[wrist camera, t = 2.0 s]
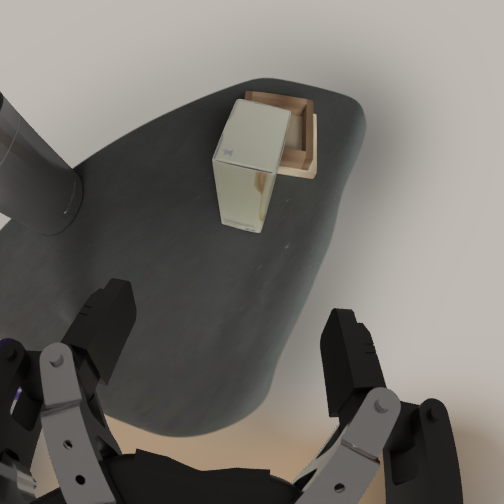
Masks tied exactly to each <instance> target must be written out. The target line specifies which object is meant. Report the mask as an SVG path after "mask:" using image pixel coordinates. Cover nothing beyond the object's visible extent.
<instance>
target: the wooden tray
mask: <svg viewBox="0 0 504 504" xmlns="http://www.w3.org/2000/svg"><path fill="white" fill-rule="evenodd" d="M244 100H248V101H253V102H257V103H262V104H266V105H270V106H274V107H278V108H282V109H286V110H289V111H291V116H290V121H289V127H288V132H287V136H286V141H285V145H284V149H283V153H282V157H281V160H280V164H279V168H278V171H277V174H284V175H291V176H297V177H303V178H309V179H314V177H315V175H316V172H317V122H316V114H313V101H312V100H307V99H302V98H296V97H291V96H284V95H278V94H270V93H263V92H254V91H246V94H245V98H244Z"/></svg>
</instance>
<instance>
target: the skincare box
mask: <svg viewBox="0 0 504 504" xmlns="http://www.w3.org/2000/svg"><path fill="white" fill-rule="evenodd" d="M290 116H291V111H289V110H286V109H282V108H278V107H274V106H270V105H266V104H262V103H257V102H253V101H248V100H243V99H238V100H236V102H235V105H234V107H233V109H232V111H231V114H230V116H229V118H228V120H227V123H226V125H225V128H224V130H223V133H222V135H221V138H220V140H219V143H218V145H217V148H216V151H215V153H214V156H213V158H212V162H213V170H214V177H215V183H216V190H217V196H218V203H219V209H220V216H221V222H222V224H224V225H228V226H231V227H235V228H239V229H242V230H246V231H251V232H255V233H260V232H261V230H262V227H263V223H264V220H265V216H266V213H267V209H268V205H269V201H270V197H271V194H272V190H273V186H274V182H275V179H276V175H277V171H278V168H279V164H280V160H281V157H282V153H283V149H284V145H285V141H286V136H287V132H288V127H289V121H290Z"/></svg>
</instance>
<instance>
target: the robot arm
mask: <svg viewBox="0 0 504 504" xmlns="http://www.w3.org/2000/svg"><path fill="white" fill-rule="evenodd" d="M82 196H83V186H82V181H81V179H80V177H79V176H78V174H77V173H76V172H75V171H74V170H73V169H72V168H71V167H70V166H69V165H68V164H66V162H65V161H64V160H63V159H62V158H61V157H60V156H58V154H57V153H56V152H55V151H54V150H53V149H52V148H51V147H50V146H49V145H48V144H47V143H46V142H45V141H44V140H43V139H42V138H41V137H40V136H39V135H38V134H37V133H36V132H35V131H34V129H33V128H32V127H31V126H30V125H29V124H28V123H27V122H26V121H25V120H24V118H23V117H22V116H21V115H20V114H19V113H18V112H17V111H16V110H15V109H14V107H13V106H12V105H11V104H10V103H9V102H8V100H7V99H6V98H5V97H4V96H3V94H2V93H1V92H0V213H2V214H4V215H6V216H8V217H10V218H12V219H13V220H15V221H17V222H19V223H21V224H23V225H25V226H27V227H29V228H31V229H33V230H35V231H37V232H39V233H41V234H43V235H48V236H49V235H55V234H57V233H59V232H61V231H62V230H64V229H65V228H66V227H67V226H68V225H69V224H70V223H71V221H72V220H73V218H74V217H75V215H76V213H77V211H78V209H79V207H80V204H81V200H82ZM135 320H136V305H135V301H134V296H133V291H132V286H131V283H130V282H129V281H125V280H119V279H114V278H112V279H111V280H110V281H109V282H108V284H107V285H106V287H105V288H104V289H99V290H97V291H96V292H95V293H93V294H92V295H91V296H90V297H89V298H88V300H87V301H86V303H85V304H84V307H82V309H81V310H80V312H79V314H78V315H77V317H76V318H75V320H74V321H73V323H72V324H71V326H70V328H69V329H68V331H67V333H66V334H65V336H64V337H63V339H62V341H61V342H60V343H53V344H50V345H49V346H47V347H46V348H45V349H44V350H43V351H26V350H25V348H24V347H23V345H22V344H21V343H20V342H19V341H15V340H13V341H9V342H7V343H5V344H4V345H3V346H2V347H1V349H0V504H358V502H359V501H360V499H361V498H362V496H363V494H364V493H365V491H366V489H367V488H368V486H369V485H370V483H371V482H372V480H373V478H374V476H375V475H376V473H377V471H378V469H379V467H380V461H379V460H378V457H379V455H380V453H381V451H382V450H383V460H384V472H385V489H386V504H463V494H462V484H461V477H460V469H459V463H458V457H457V452H456V447H455V442H454V437H453V432H452V428H451V424H450V420H449V416H448V412H447V409H446V407H445V406H444V404H443V403H442V402H441V401H439V400H437V399H433V398H430V399H427V400H425V401H424V402H423V403H422V404H421V405H416V404H412V403H407V402H403V401H400V400H399V398H398V397H397V395H396V394H395V393H394V392H393V391H391V390H389V389H387V387H386V384H385V381H384V377H383V373H382V370H381V367H380V363H379V360H378V356H377V354H376V350H375V346H373V344H374V343H373V340H372V337H371V334H370V332H369V331H368V330H367V328H366V327H365V326H364V324H363V323H357V321H356V318H355V315H354V312H353V311H352V310H351V309H338V308H337V309H336V308H334V309H333V310H332V311H331V314H330V316H329V318H328V321H327V323H326V325H325V328H324V330H323V332H322V335H321V339H320V350H321V357H322V363H323V371H324V378H325V386H326V394H327V402H328V410H329V417H339V425H338V426H337V427H336V429H335V430H334V431H333V433H332V434H331V436H330V437H329V439H328V440H327V442H326V443H325V444H324V446H323V447H322V448H321V450H320V451H319V452H318V454H317V455H316V456H315V457H314V459H313V460H312V461H311V462H310V463H309V464H308V465H307V466H306V467H305V468H304V469H303V470H302V471H301V472H300V474H299V475H298V476H297V477H296V478H295V479H294V481H293V482H292V483H290V482H288V481H286V480H284V479H282V478H279V477H276V476H273V475H270V470H266V469H247V468H230V469H220V470H209V471H200V470H197V469H194V468H192V467H189V466H187V465H184V464H182V463H180V462H178V461H176V460H174V459H171V458H169V457H167V456H162V455H158V454H154V453H151V452H147V451H143V450H140V449H136V453H135V454H122V452H121V450H120V448H119V446H118V444H117V442H116V440H115V439H114V437H113V435H112V434H111V432H110V430H109V427H108V425H107V422H106V419H105V417H104V414H103V411H102V408H101V405H100V402H99V399H98V396H97V392H96V390H95V388H96V386H97V383H100V384H103V385H106V386H107V385H108V382H109V380H110V377H111V375H112V373H113V370H114V368H115V365H116V363H117V361H118V358H119V356H120V354H121V352H122V349H123V347H124V345H125V343H126V340H127V338H128V336H129V334H130V332H131V329H132V327H133V325H134V323H135ZM19 388H20V389H21V393H20V395H19V398H18V400H17V402H16V405H15V407H14V410H13V413H12V415H11V414H10V409H11V406H12V403H13V401H14V398H15V396H16V394H17V391H18V389H19ZM42 428H43V432H44V436H45V440H46V444H47V448H48V452H49V455H50V459H51V462H52V465H53V468H54V471H55V474H56V477H57V480H58V483H59V485H60V487H59V488H57V489H55V490H53V491H51V492H49V493H47V494H46V495H43V496H41V497H39V498H37V499H36V497H35V495H34V489H35V488H36V486H37V484H36V481H35V480H34V479H33V477H32V474H31V472H30V467H31V463H32V459H33V456H34V452H35V448H36V445H37V441H38V438H39V435H40V432H41V429H42Z"/></svg>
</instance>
